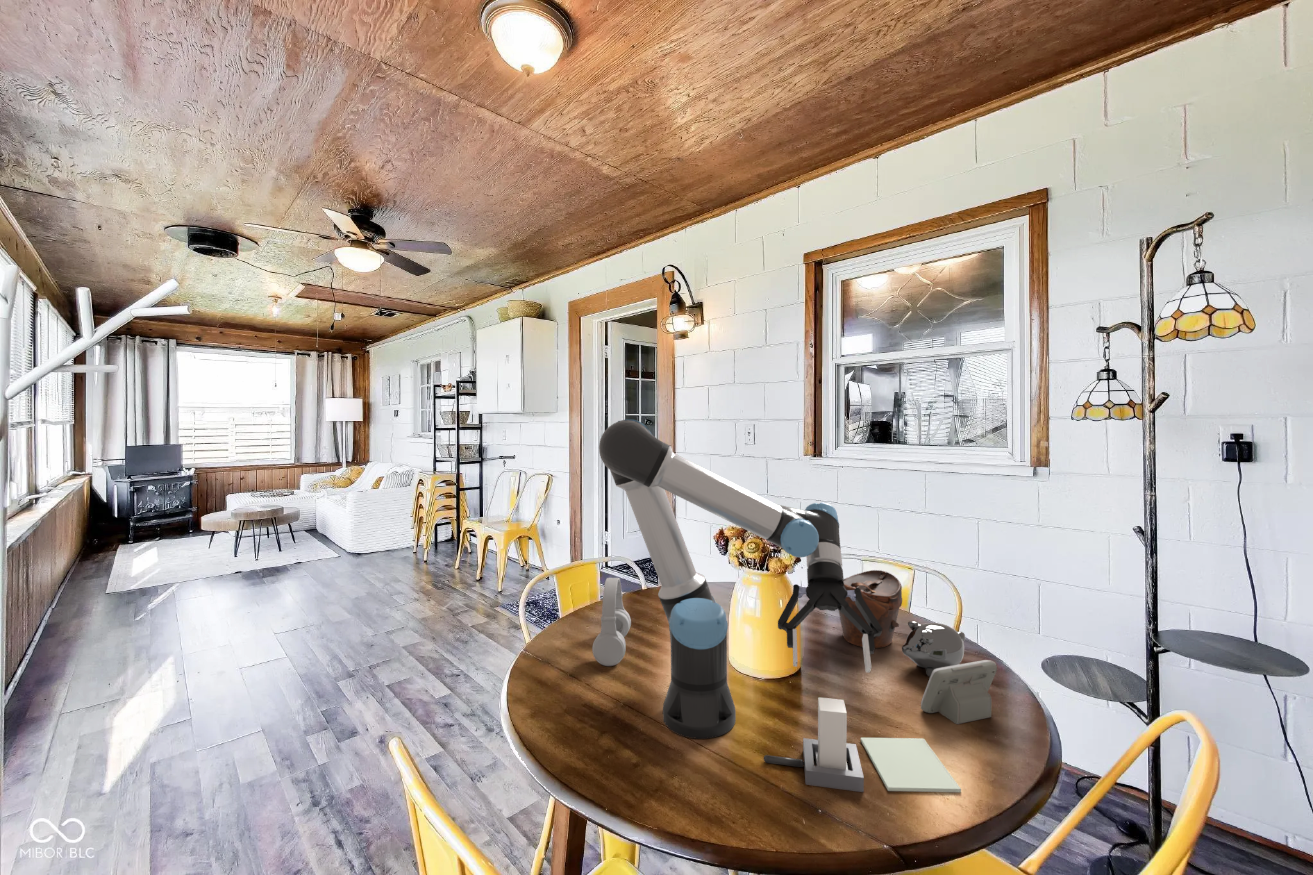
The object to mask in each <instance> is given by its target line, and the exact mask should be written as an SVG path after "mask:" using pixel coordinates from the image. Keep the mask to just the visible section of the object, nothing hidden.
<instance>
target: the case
mask: <svg viewBox="0 0 1313 875" xmlns="http://www.w3.org/2000/svg"><path fill="white" fill-rule="evenodd" d="M844 587H845V589H846V590H855V588H859V589H860V590H861V594H862V598H863V599H864V601H865V602H866V604H867V605H868V607H869V609H870V610H871V612H872V613H873V615H874V616H875V618H876V619H877V621H878V622H879V624H880V625H881V627H882V632H881V635H880V636H875V637H874V645H875V649H879V648H881V649H882V648H885V647H887V646H888V647H889V645H891V644H892V642H893V638H894V633H895V628H898V627H899V626H900V624H899V623H898V622H897V620H898V616H899V611H900V608H902V605H903V597H902V596H903V594H902V591H903V590H902V588H903V587H902V583H901V582H900V580H899V579H898V578H897V577H896V576H895V575H894V574H893V573H890V572H888V571H884V570H882V569H881V570H880V569H879V570H877V569H872V570H866V571H863V572H860V573H856V574H853V575H851V576H849V577H846V578H844ZM845 601H846V602H847V603H848V604H849V606H850V607H851V608H852V609H853V610H854V611H855V612H856V613H857V614H858V615H859V616H860V617H861V618H862V619H863V620H864V622H865V623H866V624H867V625H868V623H867V621H866V620H865V618H864V617H863V615H862V614H861V612H860V610H859V609H858V607H857V606H856V604H855V601H852V600H851V598H850V597H847V598H846V599H845ZM838 614H839V620H840V625H841V630H842V631H841V632H842V635H843V636H842V637H843V638H844V640H845V641H846V642H848V644H851V645H854V646H857V647H861V648H863V644H862V637H863V634H862V633H861V632H860V631H859V630H858V628H857V627H856V626H855V625H854V624H853V623H852V622H851V621H850V620H849V619H848V618H847V617H846V616H845V615H844V614H842V613H841V612H840V611H839V610H838ZM868 626H869V625H868ZM869 627H870V626H869Z"/></svg>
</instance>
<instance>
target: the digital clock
mask: <svg viewBox="0 0 1313 875" xmlns="http://www.w3.org/2000/svg"><path fill="white" fill-rule="evenodd" d="M997 670H998V667H997V664H996V662H995V661H994V660H990V659H983V660H978V661H972V662H966V663H960V664H959V665H953V666H948V667H942V668H937V669H934V670H933V672H932V674H931V676H929V678H928V679H929V680H928V682H927V684H926V687H925V690H924V691H923V692H924V693H923V695H922V698H921V701H920V709H921V710H922V712H925V713H927V714H935V713H939V714H940V715H942V716H944V717H945V718H947V719H948V720H950V721H951V722H952V723H953V724H955V725H960V724H965V723H969V722H974V721H980V720H983V719H988V718H991V717H992V705H993V704H992V696H991V694H990V693H989V690H990V687H991V685H992V683H993V681H994V678H995V676H996V674H997Z"/></svg>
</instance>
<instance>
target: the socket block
mask: <svg viewBox="0 0 1313 875" xmlns="http://www.w3.org/2000/svg"><path fill="white" fill-rule="evenodd" d="M816 752H818V739H815V738H805V737H803V738H802V753H803V759H801V758H800V759H799V758H792V757H783V756H776V755H768V754H766V755H764V757H763V761H764V762H765V763H766V764H774V765H780V766H781V765H783V766H790V767H797V768H804V778H805V779H804V781H805V785H806V786H808V785H809V786H813V787H814V786H815V787H823V788H830V789H838V790H845V791H850V792H852V791H853V792H859V793H860V792H861V793H865V792H864V791H865V778H864V772H863V768H862V765H861V760H860V756H859V752H858V747H857V744H856V743H850V742H849V743H848V742H846V761H847V762H848V768H849V769H848V770H843V769H835V768H827V767H819V766H816V765H815V761H814V759H815V758H816Z"/></svg>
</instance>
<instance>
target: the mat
mask: <svg viewBox="0 0 1313 875" xmlns="http://www.w3.org/2000/svg"><path fill="white" fill-rule="evenodd" d="M860 742H861V744H862V746H863V747H864V750H865V751H866V753H867V754H868V757H869V759H870V760H871V763H872V764H873V766H874V768H875V769H876V772H877V773H878V775H879V777H880V778H881V780H882V782H883V784H884V786H885V788H886V790H887V791H888V792H923V793H925V792H926V793H927V792H929V793H931V792H932V793H961V792H962V788H961V787H960V786H959V784H958V782H957V781H956V780H955V778H953V776H952V775H951V773H950V772H949V771H948V769H947V768H946V767H945V764H944V763H943V762H942V761H941V760H940V759H939V757H938V756H937V754H936V753H935V751H934V750H933V749H932V748H931V746H930V745H929V743H928V742H927V741H926V739H925V738H919V737H918V738H915V737H914V738H913V737H911V738H909V737H860Z"/></svg>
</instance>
